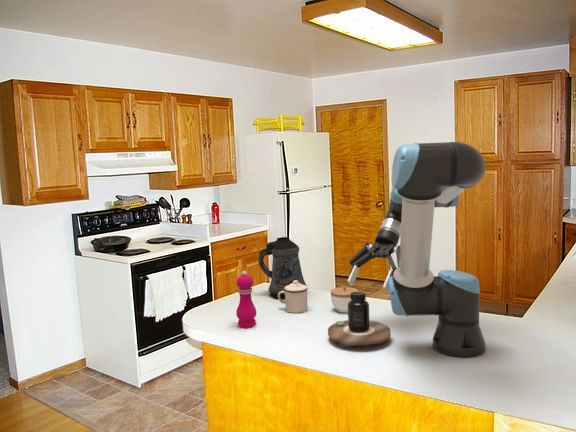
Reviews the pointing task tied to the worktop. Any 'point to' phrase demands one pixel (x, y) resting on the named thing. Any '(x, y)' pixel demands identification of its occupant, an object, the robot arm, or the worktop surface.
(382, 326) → the stand
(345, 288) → the lidded jar
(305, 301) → the teacup with lid
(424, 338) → the worktop surface
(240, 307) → the pepper mill
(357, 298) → the supplement bottle
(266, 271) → the beer stein
